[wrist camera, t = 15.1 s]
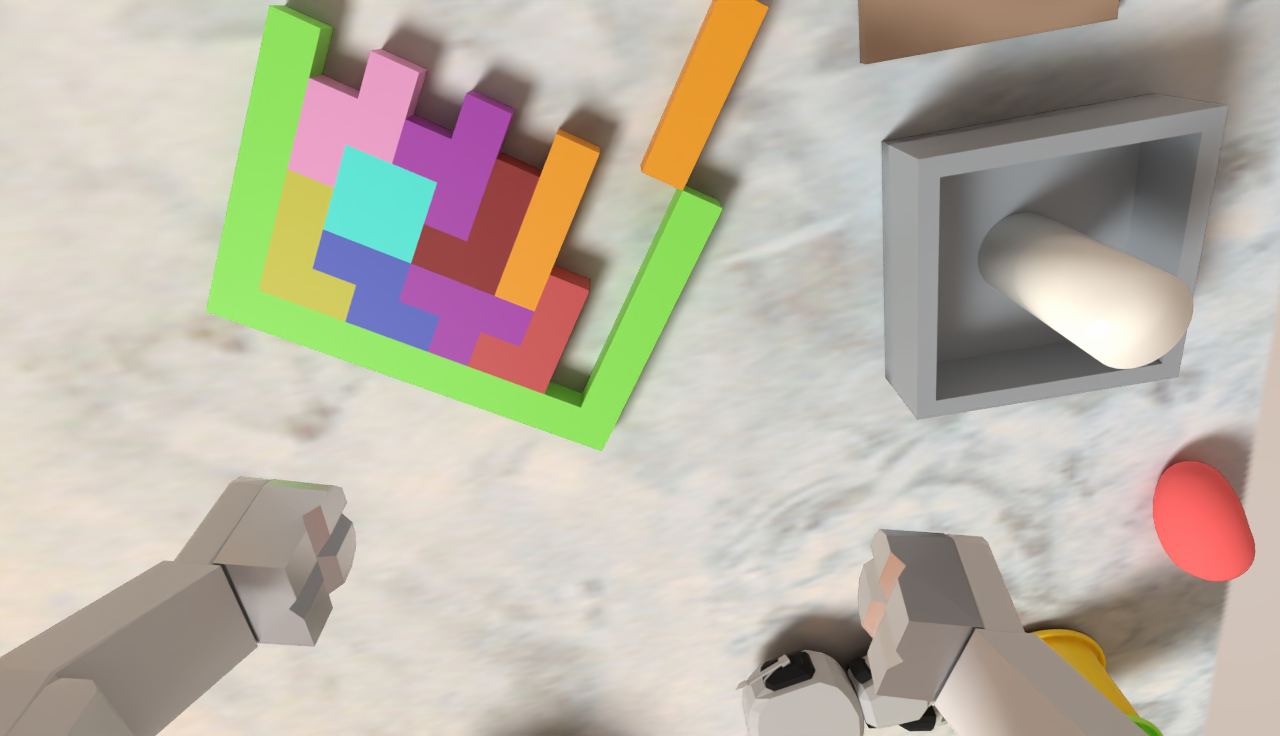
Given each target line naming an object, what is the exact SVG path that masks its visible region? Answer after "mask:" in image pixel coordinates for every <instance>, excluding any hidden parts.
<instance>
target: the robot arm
mask: <svg viewBox="0 0 1280 736" xmlns="http://www.w3.org/2000/svg"><path fill="white" fill-rule="evenodd" d="M346 504H347V501H346V498H345V495H344V492H343V489H342V488H341V487H338V486H332V485H322V484H313V483H304V482H294V481H285V480H276V479H262V478H252V477H242V476H240V477H239V478H237V479H236V480H234V481H232V482H231V483H230V484H229V485H228V486H227V488H226V489H225V491H224V492H223V493H222V495H221V496H220V498H219V499H218V500H217V502H216V503H215V504H214V506H213V507H212V509H211V510H210V511H209V513H208V514H207V516H206V517H205V518H204V520H203V521H202V523H201V524H200V525H199V527H198V528H197V529H196V531H195V532H194V534H193V535H192V536H191V538H190V539H189V541H188V542H187V543H186V545H185V546H184V548H183V549H182V550H181V552H180V553H179V554H178V556H177V557H176V559H175V560H174V561H162V562H161V563H159V564H157V565H155V566H154V567H152V568H150V569H149V570H147V571H145V572H144V573H142V574H140V575H139V576H137V577H135V578H133V579H132V580H130V581H128V582H127V583H125V584H123V585H122V586H120V587H118V588H117V589H115V590H113V591H112V592H110V593H108V594H106V595H105V596H103V597H101V598H100V599H98V600H96V601H95V602H93V603H91V604H90V605H88V606H86V607H84V608H83V609H81V610H79V611H78V612H76V613H74V614H73V615H71V616H69V617H68V618H66V619H64V620H63V621H61V622H59V623H57V624H56V625H54V626H52V627H51V628H49V629H47V630H46V631H44V632H42V633H41V634H39V635H37V636H35V637H34V638H32V639H30V640H29V641H27V642H25V643H24V644H22V645H20V646H19V647H17V648H15V649H13V650H12V651H10V652H8V653H7V654H5V655H3V656H2V657H0V736H155V735H157V734H158V733H159V732H160V731H161V730H162V729H164V728H165V727H166V726H167V725H168V724H169V723H170V722H172V721H173V720H174V719H175V718H176V717H177V716H178V715H180V714H181V713H182V712H183V711H184V710H185V709H187V708H188V707H189V706H190V705H191V704H192V703H193V702H195V701H196V700H197V699H198V698H199V697H200V696H201V695H203V694H204V693H205V692H206V691H207V690H208V689H210V688H211V687H212V686H213V685H214V684H215V683H216V682H218V681H219V680H220V679H221V678H222V677H223V676H224V675H226V674H227V673H228V672H229V671H230V670H231V669H233V668H234V667H235V666H236V665H237V664H238V663H239V662H241V661H242V660H243V659H244V658H245V657H246V656H247V655H249V654H250V653H251V652H252V651H253V650H254V649H256V648H257V647H258V645H257V643H264V644H281V645H298V646H315V644H316V642H317V640H318V638H319V636H320V634H321V632H322V630H323V627H324V625H325V623H326V621H327V619H328V617H329V615H330V613H331V611H332V608H333V607H332V604H331V600H330V597H329V594H330V593H331V592H332V591H334V590H335V589H337V588H338V587H339V586H341V585H342V584H343V583H345V581H346V578H347V576H348V574H349V572H350V569H351V567H352V563H353V558H354V554H355V549H356V535H355V530H354V526H353V523H352V522H351V521H350V520H349V519H348V518H347V517H345V516H344V515H343V514H342V512H343V510H344V508H345V506H346ZM871 549H872V553H873V559H872V560H870V561H869V562H867V563H865V564H864V565H863V569H862V572H861V575H860V578H859V587H858V607H859V615H860V620H861V625H862V627H863V628H864V629H865V630H866V631H867V632H868V634H869V635H870V636H871V637H872V638H873V640H872V642H871V645H870V647H869V650H868V652H867V655H868V660H869V664H870V669H871V674H872V678H873V683H874V688H875V693H876V695H880V696H889V697H898V698H906V699H915V700H924V701H933V702H935V703H934V705H935V707H936V708H937V709H938V711H939V712H940V713H941V714H942V716H943V717H944V718H945V720H946V721H947V722H948V724H949V725H950V726H951V727H952V729H953V730H954V731H955V733H956V734H957V735H958V736H1149V735H1147V734H1146V733H1145V732H1144V731H1143V730H1142V729H1141V728H1140V727H1139V726H1137V725H1136V724H1135V723H1134V722H1133V721H1132V720H1131V719H1130V718H1129V717H1127V716H1126V715H1125V714H1124V713H1123V712H1122V711H1121V710H1120V709H1119V708H1117V707H1116V706H1115V705H1114V704H1113V703H1112V702H1111V701H1110V700H1109V699H1107V698H1106V697H1105V696H1104V695H1103V694H1102V693H1101V692H1100V691H1099V690H1097V689H1096V688H1095V687H1094V686H1093V685H1092V684H1091V683H1090V682H1089V681H1087V680H1086V679H1085V678H1084V677H1083V676H1082V675H1081V674H1080V673H1079V672H1077V671H1076V670H1075V669H1074V668H1073V667H1072V666H1071V665H1070V664H1069V663H1067V662H1066V661H1065V660H1064V659H1063V658H1062V657H1061V656H1060V655H1059V654H1057V653H1056V652H1055V651H1054V650H1053V649H1052V648H1051V647H1050V646H1049V645H1047V644H1046V643H1045V642H1044V641H1043V640H1042V639H1041V638H1040V637H1039V636H1037V635H1036V634H1032V633H1025V631H1024V629H1023V626H1022V624H1021V622H1020V619H1019V617H1018V614H1017V612H1016V609H1015V607H1014V605H1013V602H1012V600H1011V597H1010V595H1009V592H1008V590H1007V588H1006V585H1005V583H1004V580H1003V578H1002V576H1001V573H1000V571H999V568H998V566H997V563H996V561H995V559H994V556H993V554H992V551H991V549H990V547H989V544H988V542H987V541H986V540H985V539H984V538H983V537H978V536H965V535H952V534H947V535H945V534H944V533H929V532H915V531H900V530H886V529H879V530H878V532H877V533H876V534H875V535H874V538H873V541H872V543H871Z"/></svg>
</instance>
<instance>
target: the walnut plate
mask: <svg viewBox="0 0 1280 736" xmlns="http://www.w3.org/2000/svg"><path fill="white" fill-rule="evenodd" d="M858 5H859V40H860V63H864V64H870V63H876V62H881V61H887V60H893V59H898V58H904V57H909V56H915V55H920V54H926V53H931V52H937V51H942V50H948V49H954V48H959V47H965V46H970V45H976V44H981V43H987V42H992V41H998V40H1003V39H1009V38H1015V37H1020V36H1026V35H1031V34H1037V33H1042V32H1048V31H1053V30H1059V29H1064V28H1070V27H1076V26H1081V25H1087V24H1092V23H1098V22H1103V21H1109V20H1114V19H1117V17H1118V8H1119V0H858Z"/></svg>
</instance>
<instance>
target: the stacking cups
mask: <svg viewBox="0 0 1280 736" xmlns="http://www.w3.org/2000/svg"><path fill="white" fill-rule="evenodd" d="M1032 634H1036V635H1037V636H1039V637H1040V638H1041V639H1042V640H1043V641H1044V642H1045V643H1046V644H1047V645H1049V646H1050V647H1051V648H1052V649H1053V650H1054V651H1055V652H1056V653H1057V654H1059V655H1060V656H1061V657H1062V658H1063V659H1064V660H1065V661H1066V662H1067V663H1069V664H1070V665H1071V666H1072V667H1073V668H1074V669H1075V670H1076V671H1077V672H1079V673H1080V674H1081V675H1082V676H1083V677H1084V678H1085V679H1086V680H1087V681H1089V682H1090V683H1091V684H1092V685H1093V686H1094V687H1095V688H1096V689H1097V690H1099V691H1100V692H1101V693H1102V694H1103V695H1104V696H1105V697H1106V698H1107V699H1109V700H1110V701H1111V702H1112V703H1113V704H1114V705H1115V706H1116V707H1117V708H1119V709H1120V710H1121V711H1122V712H1123V713H1124V714H1125V715H1126V716H1127V717H1129V718H1130V719H1131V720H1132V721H1133V722H1134V723H1135V724H1136V725H1137V726H1139V727H1140V728H1141V729H1142V730H1143V731H1144V732H1145V733H1146V734H1147V735H1149V736H1163V735H1162V733H1161V732H1160V730H1159V729H1158V728H1157V727H1156V726H1155V725H1154V724H1152V723H1151V722H1149V721H1148V720H1145V719H1143V718H1140V717H1139V715H1138V714H1137V713H1136V711H1135V710H1134V708H1133V707H1132V706H1131V704H1130V703H1129V702H1128V700H1127V699H1126V698H1125V696H1124V695H1123V693H1122V692H1121V691H1120V689H1119V688H1118V687H1117V685H1116V684H1115V683H1114V681H1113V680H1112V679H1111V677H1110V676H1109V674H1108V673H1107V672H1106V670H1105V669H1106V659H1105V655H1104V653H1103V651H1102V649H1101V647H1100V646H1099V645H1098V644H1097V642H1095V641H1094V640H1093V639H1092V638H1090V637H1089V636H1087V635H1085V634H1082V633H1080V632H1077V631H1072V630H1066V629H1049V630H1041V631H1036V632H1032Z"/></svg>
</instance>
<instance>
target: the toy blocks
mask: <svg viewBox="0 0 1280 736" xmlns="http://www.w3.org/2000/svg"><path fill="white" fill-rule="evenodd" d="M768 8H769V7H767V6H765V5H763V4H762V3H760V2H758V1H756V0H713V1H712V3H711V5H710V7H709V10H708V12H707V14H706V17H705V19H704V21H703V23H702V26H701V28H700V30H699V33H698V35H697V37H696V39H695V42H694V44H693V46H692V49H691V51H690V53H689V55H688V58H687V60H686V62H685V65H684V67H683V69H682V71H681V74H680V76H679V78H678V81H677V83H676V85H675V87H674V90H673V92H672V94H671V97H670V99H669V101H668V103H667V106H666V108H665V110H664V113H663V115H662V117H661V119H660V122H659V124H658V126H657V128H656V131H655V133H654V135H653V138H652V140H651V142H650V144H649V147H648V149H647V151H646V154H645V156H644V158H643V160H642V163H641V165H640V166H641V171H642V172H643V173H645V174H647V175H649V176H651V177H654V178H656V179H658V180H660V181H663V182H665V183H667V184H669V185H672V186H674V187H676V188H677V190H676V192H675V194H674V196H673V199H672V201H671V203H670V205H669V207H668V209H667V211H666V214H665V216H664V218H663V220H662V222H661V224H660V226H659V229H658V231H657V233H656V235H655V237H654V239H653V242H652V244H651V246H650V248H649V250H648V252H647V254H646V257H645V259H644V261H643V263H642V265H641V267H640V269H639V272H638V274H637V276H636V278H635V280H634V282H633V285H632V287H631V289H630V291H629V293H628V295H627V297H626V300H625V302H624V304H623V306H622V308H621V310H620V313H619V315H618V317H617V319H616V321H615V323H614V325H613V328H612V330H611V332H610V334H609V336H608V338H607V340H606V343H605V345H604V347H603V349H602V351H601V353H600V356H599V358H598V360H597V362H596V364H595V366H594V368H593V371H592V373H591V375H590V377H589V379H588V381H587V383H586V386H585V388H584V390H583V392H582V393H580V392H577V391H574V390H571V389H569V388H566V387H563V386H561V385H558V384H555V383H552V382H550V379H551V377H552V375H553V373H554V370H555V368H556V366H557V364H558V361H559V359H560V357H561V355H562V352H563V350H564V348H565V345H566V343H567V341H568V339H569V336H570V334H571V332H572V330H573V327H574V325H575V323H576V321H577V318H578V316H579V314H580V311H581V309H582V307H583V305H584V302H585V300H586V298H587V296H588V293H589V291H590V279H587V278H585V277H582V276H580V275H577V274H575V273H572V272H570V271H567V270H565V269H563V268H560V267H558V266H555V265H554V263H555V261H556V258H557V256H558V253H559V251H560V249H561V246H562V244H563V241H564V239H565V236H566V234H567V232H568V229H569V227H570V224H571V222H572V219H573V217H574V215H575V212H576V210H577V207H578V205H579V202H580V200H581V198H582V195H583V193H584V190H585V188H586V185H587V183H588V181H589V178H590V176H591V173H592V171H593V168H594V166H595V164H596V161H597V159H598V156H599V154H600V147H599V146H596V145H594V144H592V143H590V142H587V141H585V140H583V139H581V138H579V137H576V136H574V135H572V134H570V133H567V132H565V131H563V130H561V129H558V131H557V134H556V136H555V139H554V142H553V144H552V147H551V149H550V152H549V155H548V157H547V160H546V162H545V165H544V168H543V170H541V169H538V168H536V167H534V166H531V165H529V164H527V163H525V162H522V161H520V160H518V159H515V158H513V157H511V156H508V155H506V154H504V153H502V152H501V150H502V147H503V145H504V142H505V139H506V136H507V133H508V131H509V128H510V125H511V122H512V119H513V116H514V114H515V111H516V109H514V108H512V107H510V106H507V105H505V104H503V103H501V102H498V101H496V100H494V99H492V98H490V97H487V96H485V95H483V94H481V93H478V92H476V91H474V90H471V91H470V92H468V93H466V96H465V99H464V102H463V105H462V108H461V111H460V114H459V117H458V120H457V123H456V126H455V129H454V132H453V131H451V130H449V129H446V128H444V127H442V126H439V125H437V124H435V123H432V122H430V121H428V120H425V119H423V118H421V117H419V116H416V115H414V112H415V109H416V106H417V102H418V99H419V96H420V93H421V89H422V86H423V83H424V79H425V76H426V73H427V69H425V68H423V67H421V66H418V65H416V64H414V63H412V62H409V61H407V60H405V59H403V58H400V57H398V56H396V55H394V54H392V53H389V52H387V51H385V50H383V49H378V50H372V51H370V55H369V59H368V62H367V66H366V70H365V74H364V77H363V81H362V85H361V89H360V91H359V90H356V89H354V88H352V87H349V86H347V85H345V84H343V83H340V82H338V81H336V80H333V79H331V78H329V77H326V76H324V75H322V73H323V69H324V65H325V61H326V57H327V53H328V49H329V45H330V41H331V37H332V33H333V28H334V27H331V26H329V25H327V24H325V23H323V22H320V21H318V20H316V19H314V18H311V17H309V16H307V15H305V14H303V13H300V12H298V11H296V10H294V9H291V8H289V7H287V6H269V9H268V14H267V19H266V24H265V29H264V33H263V38H262V43H261V48H260V53H259V58H258V62H257V67H256V72H255V77H254V82H253V87H252V91H251V96H250V101H249V106H248V111H247V116H246V120H245V125H244V130H243V135H242V140H241V145H240V149H239V154H238V159H237V164H236V169H235V174H234V178H233V183H232V188H231V193H230V198H229V202H228V207H227V212H226V217H225V222H224V227H223V231H222V236H221V241H220V246H219V251H218V256H217V260H216V265H215V270H214V275H213V280H212V285H211V289H210V294H209V299H208V304H207V309H206V312H209V313H211V314H214V315H217V316H220V317H223V318H226V319H229V320H231V321H234V322H237V323H240V324H243V325H246V326H248V327H251V328H254V329H257V330H260V331H263V332H265V333H268V334H271V335H274V336H277V337H280V338H282V339H285V340H288V341H291V342H294V343H297V344H299V345H302V346H305V347H308V348H311V349H314V350H316V351H319V352H322V353H325V354H328V355H331V356H333V357H336V358H339V359H342V360H345V361H348V362H350V363H353V364H356V365H359V366H362V367H365V368H367V369H370V370H373V371H376V372H379V373H382V374H384V375H387V376H390V377H393V378H396V379H399V380H401V381H404V382H407V383H410V384H413V385H416V386H418V387H421V388H424V389H427V390H430V391H433V392H435V393H438V394H441V395H444V396H447V397H450V398H452V399H455V400H458V401H461V402H464V403H467V404H469V405H472V406H475V407H478V408H481V409H484V410H486V411H489V412H492V413H495V414H498V415H501V416H504V417H506V418H509V419H512V420H515V421H518V422H521V423H523V424H526V425H529V426H532V427H535V428H538V429H540V430H543V431H546V432H549V433H552V434H555V435H557V436H560V437H563V438H566V439H569V440H572V441H574V442H577V443H580V444H583V445H586V446H589V447H591V448H594V449H597V450H600V451H602V450H603V448H604V446H605V444H606V442H607V440H608V438H609V436H610V434H611V432H612V430H613V428H614V426H615V424H616V422H617V420H618V418H619V416H620V414H621V412H622V410H623V408H624V406H625V404H626V402H627V400H628V398H629V396H630V394H631V392H632V390H633V388H634V386H635V384H636V382H637V380H638V378H639V376H640V374H641V372H642V370H643V368H644V366H645V364H646V362H647V360H648V358H649V356H650V354H651V352H652V350H653V348H654V346H655V344H656V342H657V340H658V338H659V336H660V334H661V332H662V330H663V328H664V326H665V324H666V322H667V320H668V318H669V316H670V314H671V312H672V310H673V308H674V306H675V304H676V302H677V300H678V298H679V296H680V294H681V292H682V289H683V287H684V285H685V283H686V281H687V279H688V277H689V275H690V273H691V271H692V269H693V267H694V265H695V263H696V261H697V259H698V257H699V255H700V253H701V251H702V249H703V247H704V245H705V243H706V241H707V239H708V237H709V235H710V233H711V231H712V229H713V227H714V225H715V223H716V221H717V219H718V217H719V215H720V213H721V211H722V209H723V208H722V206H721V204H720V203H719V201H718V200H717V199H714V198H712V197H710V196H708V195H705V194H703V193H701V192H699V191H697V190H694V189H692V188H690V187H688V186H685V185H686V183H687V181H688V179H689V176H690V174H691V172H692V170H693V168H694V166H695V164H696V162H697V159H698V157H699V155H700V153H701V151H702V149H703V147H704V145H705V142H706V140H707V138H708V136H709V134H710V132H711V130H712V127H713V125H714V123H715V121H716V119H717V117H718V115H719V113H720V110H721V108H722V106H723V104H724V102H725V100H726V98H727V95H728V93H729V91H730V89H731V87H732V85H733V83H734V81H735V78H736V76H737V74H738V72H739V70H740V68H741V66H742V64H743V61H744V59H745V57H746V55H747V53H748V51H749V49H750V46H751V44H752V42H753V40H754V38H755V36H756V34H757V32H758V29H759V27H760V25H761V23H762V21H763V19H764V17H765V15H766V12H767V10H768Z"/></svg>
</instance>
